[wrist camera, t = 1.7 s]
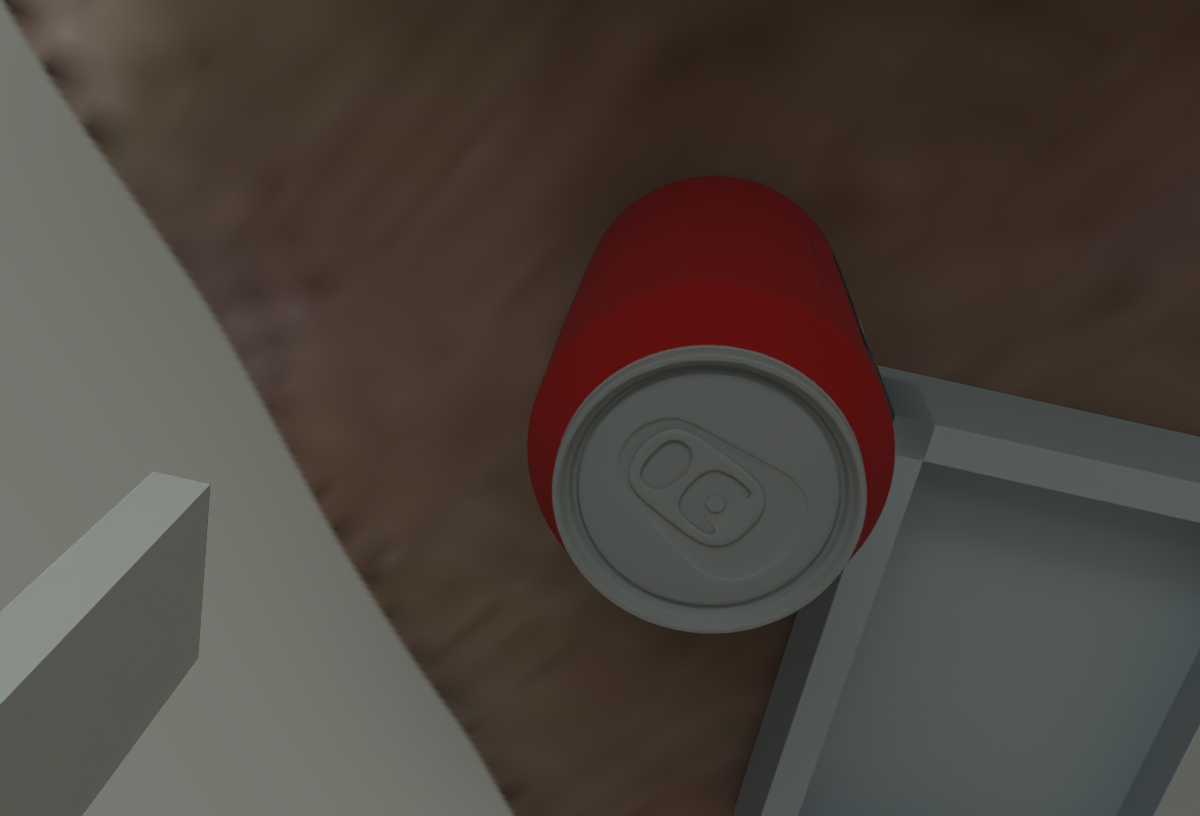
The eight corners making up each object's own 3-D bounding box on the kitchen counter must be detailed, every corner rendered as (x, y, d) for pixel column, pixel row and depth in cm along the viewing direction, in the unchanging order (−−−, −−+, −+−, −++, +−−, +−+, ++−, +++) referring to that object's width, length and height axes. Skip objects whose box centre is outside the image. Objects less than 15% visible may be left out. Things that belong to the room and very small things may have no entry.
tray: (876, 364, 30) (895, 415, 27) (1314, 461, 30) (1384, 524, 27) (733, 811, 37) (734, 895, 33) (1093, 893, 36) (1129, 985, 33)
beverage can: (725, 456, 32) (728, 731, 21) (537, 309, 31) (434, 518, 20) (894, 279, 29) (999, 484, 18) (696, 112, 28) (681, 225, 17)
